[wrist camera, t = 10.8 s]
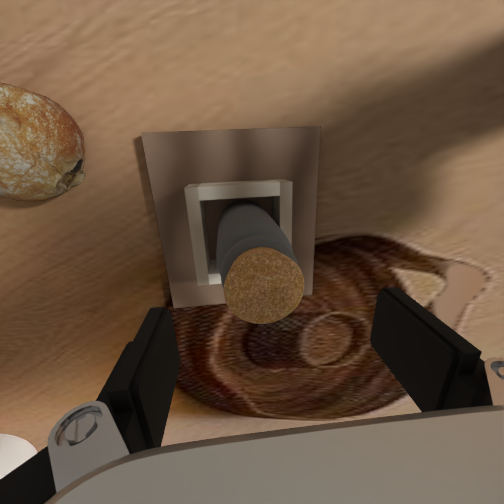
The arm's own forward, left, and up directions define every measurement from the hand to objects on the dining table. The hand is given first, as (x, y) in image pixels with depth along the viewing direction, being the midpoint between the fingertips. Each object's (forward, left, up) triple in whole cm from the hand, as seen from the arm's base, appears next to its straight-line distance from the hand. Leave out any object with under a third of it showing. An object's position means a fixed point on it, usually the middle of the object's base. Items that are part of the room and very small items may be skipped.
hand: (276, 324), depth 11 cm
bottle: (0, 0, -18) cm, 18 cm away
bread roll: (+20, -9, -20) cm, 30 cm away
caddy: (0, 0, -19) cm, 19 cm away
